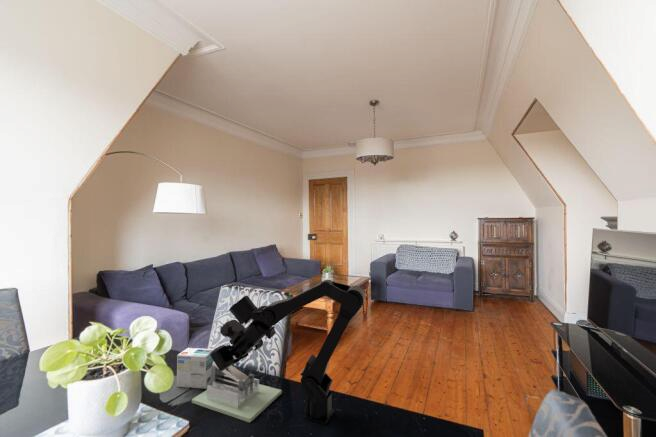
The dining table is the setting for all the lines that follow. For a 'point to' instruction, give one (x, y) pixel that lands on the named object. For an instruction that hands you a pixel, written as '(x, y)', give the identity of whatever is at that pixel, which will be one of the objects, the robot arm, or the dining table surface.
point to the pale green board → (245, 411)
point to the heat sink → (230, 389)
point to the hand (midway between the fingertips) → (224, 364)
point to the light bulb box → (194, 368)
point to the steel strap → (236, 374)
